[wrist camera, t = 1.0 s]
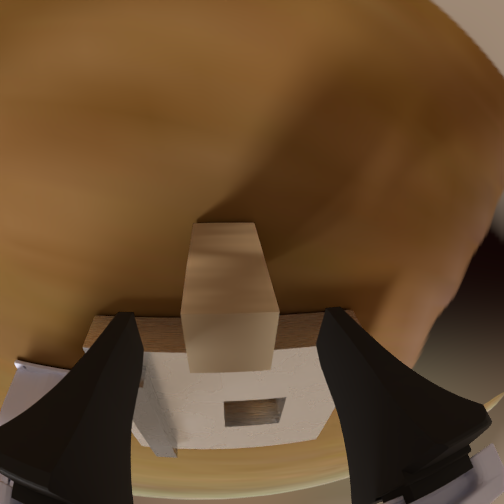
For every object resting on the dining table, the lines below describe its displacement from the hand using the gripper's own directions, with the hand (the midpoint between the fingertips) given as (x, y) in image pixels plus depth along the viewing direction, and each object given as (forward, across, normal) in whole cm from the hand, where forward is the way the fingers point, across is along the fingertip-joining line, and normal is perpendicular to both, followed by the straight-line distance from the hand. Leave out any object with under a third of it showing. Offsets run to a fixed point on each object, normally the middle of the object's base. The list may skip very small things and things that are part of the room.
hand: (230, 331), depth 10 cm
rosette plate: (+6, 0, +13) cm, 14 cm away
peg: (+6, 0, 0) cm, 6 cm away
